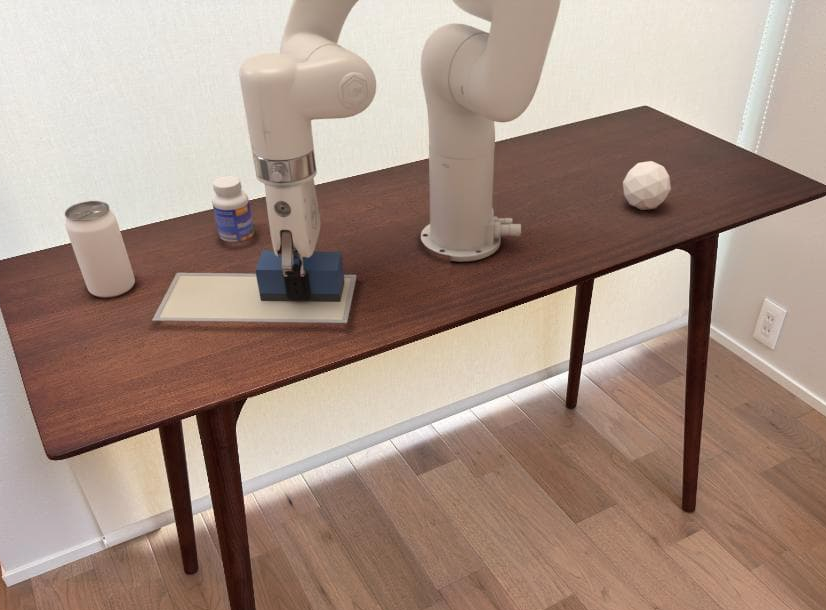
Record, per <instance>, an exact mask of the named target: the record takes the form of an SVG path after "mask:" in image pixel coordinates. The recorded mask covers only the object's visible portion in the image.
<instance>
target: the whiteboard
mask: <svg viewBox="0 0 826 610" xmlns="http://www.w3.org/2000/svg"><path fill="white" fill-rule="evenodd" d="M344 281H345V283H344V287H343V292H342V297H341V301H340V302H313V301H261V299H260V293H259V288H258V283H257V277H256V273H244V272H243V273H242V272H241V273H239V272H238V273H237V272H233V273H232V272H231V273H230V272H228V273H227V272H176V274H175V276H174V278H173V280H172V281H171V283H170V285H169V287H168V288H167V291H166V293H165V294H164V296H163V299H162V301H161V302H160V304H159V306H158V308H157V310H156V312H155V314H154V315H153V318H152V320H151V321H152V322H189V323H190V322H193V323H194V322H199V323H200V322H201V323H203V322H204V323H205V322H206V323H278V324H279V323H282V324H289V323H290V324H292V323H293V324H348V321H349V317H350V311H351V306H352V301H353V297H354V291H355V287H356V281H357V274H344Z"/></svg>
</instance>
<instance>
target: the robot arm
mask: <svg viewBox="0 0 826 610" xmlns="http://www.w3.org/2000/svg"><path fill="white" fill-rule="evenodd" d="M359 1H360V0H293V1H292V4H291V6H290V9H289V12H288V17H287V20H286V24H285V26H284V27H285V28H284V30H283V34H282V38H281V42H280V48H279V53H277V52H276V53H275V52H272V53H271V52H270V53H262V54H257V55H253V56H251V57H249V58H247V59H246V60H244V61H243V62H242V64H241V65H240V68H239V74H238V75H239V83H240V89H241V95H242V101H243V107H244V113H245V119H246V124H247V131H248V135H249V136H248V137H249V142H250V147H251V154H252V160H253V165H254V170H255V178H256V180H258V181H259V182H260V183H262V184H264V191H265V202H266V210H267V218H268V226H269V233H270V239H271V244H272V249H273V250H272V251H274V253H275V255H276V256H277V257H281V255H282V270H283V275H284V281H285V287H286V294H287V298H288V299H289V300H309V299H310V298H311V291H310V284H309V277H308V273H305V259H304V257H307V258H309V257H311V256H312V254H313V252H315V251H316V250H315V249H316V246H317V243H318V239H319V236H320V232H321V228H322V227H321V225H322V221H321V215H320V208H319V202H318V196H317V190H316V184H315V180H314V179H315V177H316V175H317V173H318V172H317V163H316V154H315V144H314V136H313V128H312V121H313V120H334V119H345V118H350V117H354V116H357V115H359V114H361V113H362V112H364V111H366V109H367V108H369V107H370V105H371V104H372V103H373V101H374V98H375V96H376V93H377V78H376V75H375V73H374V70H373V69H372V67H371V66H370V64H369V63H368V62H367V61H366V60H365V59H364V58H363V57H361V56H359V55H358V54H357V53H355V52H353V51H351V50H349V49H347V48H345V47H343V46H341V45H339V44H338V42H339V39H340V37H341V36H340V35H341V33H342V30H343V27H344V24H345V22H346V20H347V18H348V16H349V14H350V13H351V11H352V9H353V8H354V7H355V6H356V5H357V3H358V2H359ZM561 1H562V0H452V2H453V3H454V4H455V5H456V6H457V7H458V9H460V10H462V11H464V12H465V13H467V14H469V15H471V16H473V17H477V18H478V19H481V20H483V21H487V22H489V23H490V28H489V32H487V31H485V30H482V29H479V28H476V27H474V26H473V25H468V24H464V23H456V22H455V23H448V24H445V25H442V26H440V27H438V28H437V29H435V30H434V31H432V33H431V34H430V35H429V37H428V38H427V39H426V41H425V43H424V45H423V47H422V51H421V56H420V75H421V82H422V89H423V93H424V99H425V104H426V110H427V111H426V112H427V123H428V126H427V127H428V169H429V170H428V176H429V177H428V178H429V179H428V180H429V185H428V186H429V223H428V224H427V225H426V226H425V227H424V228H423V229H422V230H421V232H420V240H421V242H422V244H423V245H424V246H425V247H426V248H428V249H429V250H431V251H433V252H434V253H437V254H441V255H445V256H449V257H450V258H449V261H450V262H457V263H458V262H459V263H464V262H465V263H466V262H475V261H478V260H482V259H485V258H488V257H490V256H491V255H493V254H495V253H496V252H497V251H498V250H499V248H500V247H501V243H502V242H501V241H502V239H501V237H511V238H513V237H514V238H515V237H516V238H519V237H520V238H521V237H522V224H521V223H513V217H500V218H499V217H498V216H495V213H494V208H493V198H494V197H493V193H494V170H495V147H496V126H495V123H509V122H512V121H514V120H516V119H518V118H520V116H521V115H522V114H524V112H525V111H526V110H527V109H528V107H529V106H530V105H531V103H532V100H533V99H534V97H535V94H536V92H537V89H538V86H539V83H540V80H541V76H542V72H543V69H544V65H545V61H546V59H547V55H548V51H549V48H550V45H551V41H552V37H553V34H554V29H555V26H556V23H557V19H558V16H559V12H560V11H559V10H560V6H561ZM424 235H427V236H424ZM293 251H298V252H293ZM293 258H299V265H298V264H294V262H293Z"/></svg>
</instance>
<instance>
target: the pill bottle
mask: <svg viewBox="0 0 826 610" xmlns="http://www.w3.org/2000/svg"><path fill="white" fill-rule="evenodd" d="M212 186H213V191H214V194H213V195H212V198H211V204H212V209H213V212H214V219H215V222H216V227H217V228H216V229H217V233H218V237H219V238H220V240H223V241H225V242H230V243H237V242H242V241H247V240H248V239H250V238H252V237H253V236H254V235H255V228H254V222H253V216H252V211H251V206H250V200H249V196H248V194H247V192H245V191H244V190H242V182H241V180H240V178H239V177H238V176H234V175H224V176H220V177H217V178H216V179H214V180H213V182H212Z"/></svg>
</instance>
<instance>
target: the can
mask: <svg viewBox="0 0 826 610" xmlns="http://www.w3.org/2000/svg"><path fill="white" fill-rule="evenodd" d="M64 217H65V221H64V222H65V224H64V225H65V230H66V232H67V233H66V234H67V236H68V238H69V242H70V244H71V247H72V250H73V252H74V256H75V258H76V261H77V264H78V266H79V270H80V272H81V276H82V277H83V280H84V281H83V282H84V284H85V287H86V288H87V290H88V292H89V294H91V295H92V296H95V297H97V298H101V299H111V298H115V297H119V296H122V295H124V294H126V293H128V292H130V291H131V290H132V288H133V287H134V285H135V283H136V279H135V275H134V271H133V268H132V265H131V262H130V259H129V258H130V257H129V255H128V252H127V249H126V245H125V242H124V239H123V235H122V233H121V229H120V226H119V223H118V220H117V217H116V215H115V213H114V212H113V211H112V210H111V209H110V205H109V204H108V203H106V202H105V201H100V200H87V201H81V202H78V203H75V204H72V205H71V206H69V207H68V208H67V209H66V210H65V211H64Z"/></svg>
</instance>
